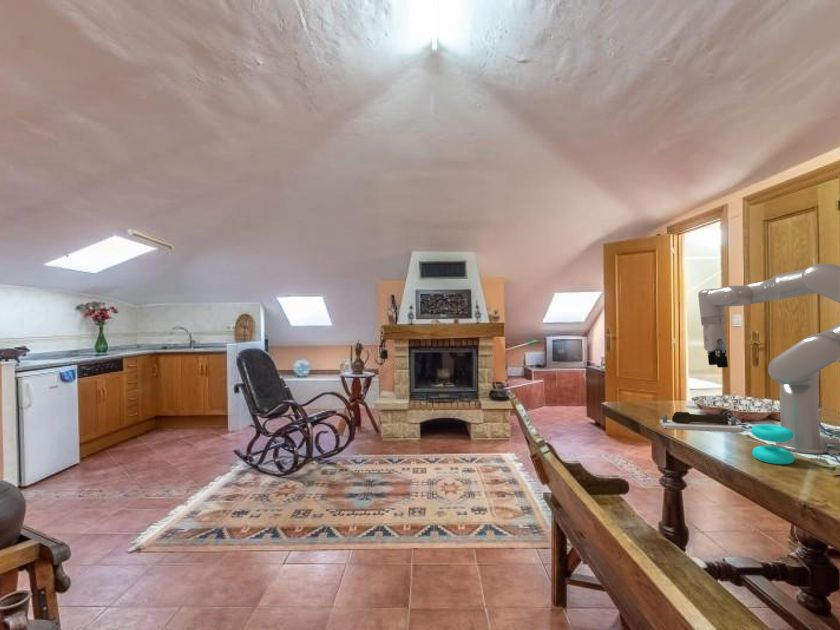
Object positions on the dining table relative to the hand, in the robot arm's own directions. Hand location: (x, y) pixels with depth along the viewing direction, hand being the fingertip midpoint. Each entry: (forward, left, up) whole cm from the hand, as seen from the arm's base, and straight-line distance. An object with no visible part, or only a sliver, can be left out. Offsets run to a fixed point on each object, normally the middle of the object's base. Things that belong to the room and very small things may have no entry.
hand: (718, 366), depth 156 cm
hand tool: (+5, -6, -24) cm, 25 cm away
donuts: (-5, +29, -26) cm, 39 cm away
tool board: (+6, -6, -25) cm, 27 cm away
